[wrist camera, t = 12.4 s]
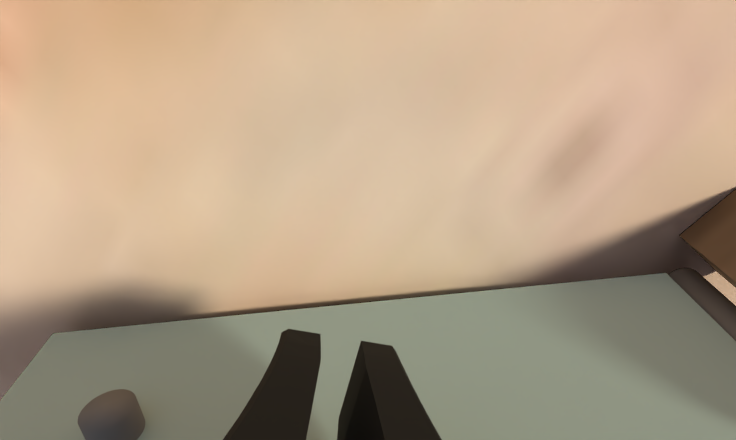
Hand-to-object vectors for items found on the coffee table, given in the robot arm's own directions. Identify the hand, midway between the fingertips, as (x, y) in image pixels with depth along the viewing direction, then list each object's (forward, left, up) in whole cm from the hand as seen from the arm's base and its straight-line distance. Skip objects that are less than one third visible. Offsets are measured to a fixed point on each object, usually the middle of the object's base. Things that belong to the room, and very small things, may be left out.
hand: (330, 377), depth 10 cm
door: (-2, +1, -5) cm, 6 cm away
